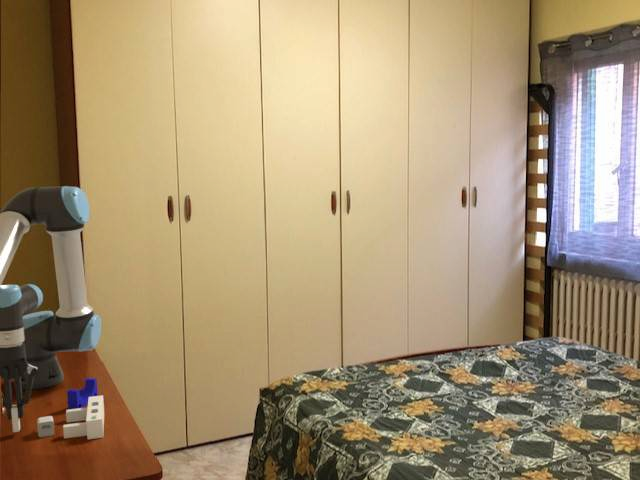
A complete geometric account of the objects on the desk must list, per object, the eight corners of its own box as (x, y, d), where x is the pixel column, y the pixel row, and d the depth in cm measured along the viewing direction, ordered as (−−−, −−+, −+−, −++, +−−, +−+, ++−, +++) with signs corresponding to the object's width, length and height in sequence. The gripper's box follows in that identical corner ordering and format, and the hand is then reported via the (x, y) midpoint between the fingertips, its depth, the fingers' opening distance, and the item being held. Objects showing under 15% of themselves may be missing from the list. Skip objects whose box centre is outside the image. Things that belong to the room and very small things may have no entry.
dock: (67, 416, 204) (66, 398, 204) (104, 411, 207) (103, 394, 206) (63, 442, 185) (61, 423, 184) (103, 437, 188) (102, 418, 187)
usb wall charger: (38, 437, 189) (37, 423, 189) (37, 429, 195) (36, 414, 195) (54, 435, 191) (53, 420, 190) (53, 426, 197) (52, 412, 197)
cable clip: (84, 396, 221) (83, 378, 221) (97, 397, 220) (96, 378, 220) (63, 410, 210) (62, 390, 209) (77, 411, 209) (76, 391, 208)
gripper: (-20, 350, 183) (-13, 438, 186) (34, 345, 186) (41, 431, 189) (-15, 343, 190) (-8, 428, 193) (37, 338, 194) (44, 422, 196)
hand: (16, 430), depth 191 cm, fingers closed
